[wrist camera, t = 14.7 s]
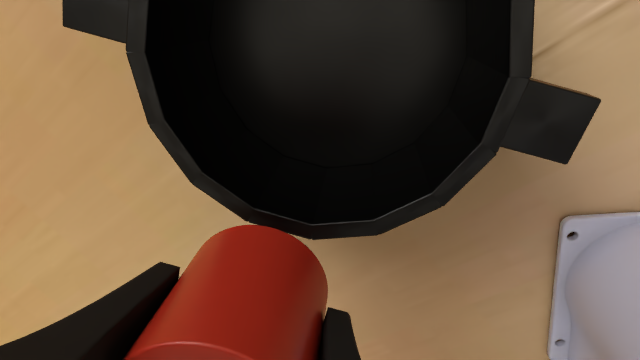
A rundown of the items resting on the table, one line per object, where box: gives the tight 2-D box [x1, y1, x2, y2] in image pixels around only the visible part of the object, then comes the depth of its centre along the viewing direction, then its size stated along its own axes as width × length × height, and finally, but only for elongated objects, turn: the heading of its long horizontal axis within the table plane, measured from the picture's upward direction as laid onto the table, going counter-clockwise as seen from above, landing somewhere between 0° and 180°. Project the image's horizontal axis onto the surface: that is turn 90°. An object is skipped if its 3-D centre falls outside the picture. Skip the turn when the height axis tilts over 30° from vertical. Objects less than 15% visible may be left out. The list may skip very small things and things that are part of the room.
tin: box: [123, 225, 328, 360], centre depth 12 cm, size 5×5×5 cm
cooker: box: [63, 0, 601, 240], centre depth 16 cm, size 13×18×6 cm
